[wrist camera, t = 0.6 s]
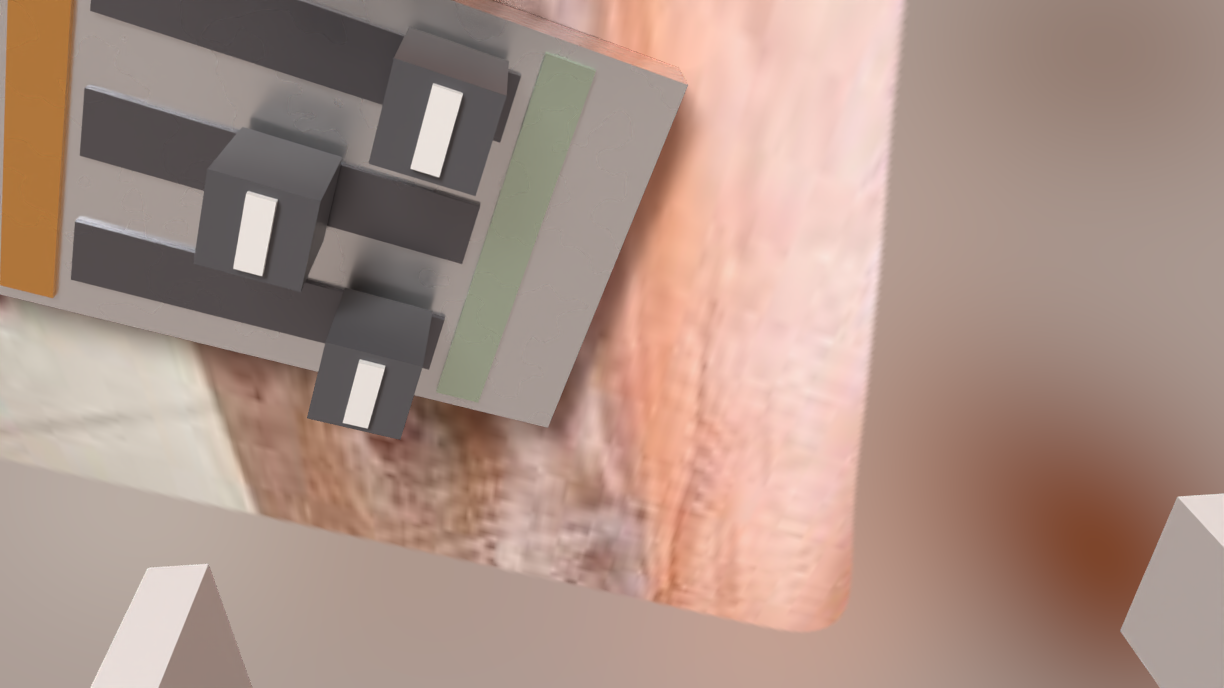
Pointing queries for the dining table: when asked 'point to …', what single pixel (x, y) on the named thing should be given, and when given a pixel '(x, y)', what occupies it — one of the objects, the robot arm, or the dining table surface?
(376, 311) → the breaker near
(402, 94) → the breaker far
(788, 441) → the dining table surface
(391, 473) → the dining table surface
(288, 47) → the panel
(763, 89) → the dining table surface
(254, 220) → the breaker
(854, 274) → the dining table surface
